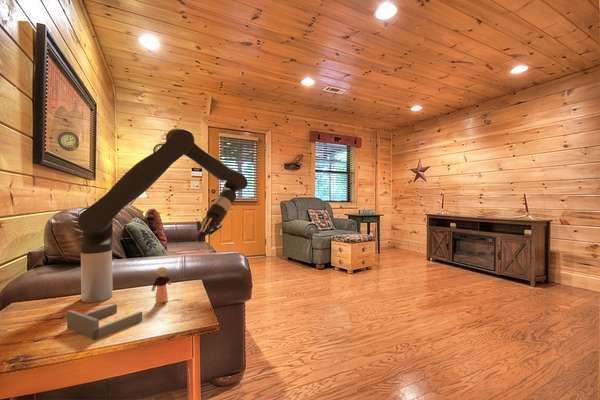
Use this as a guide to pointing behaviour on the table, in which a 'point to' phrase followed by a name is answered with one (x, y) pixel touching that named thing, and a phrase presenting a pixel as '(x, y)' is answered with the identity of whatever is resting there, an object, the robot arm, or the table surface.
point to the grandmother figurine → (161, 286)
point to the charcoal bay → (90, 322)
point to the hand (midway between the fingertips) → (197, 241)
